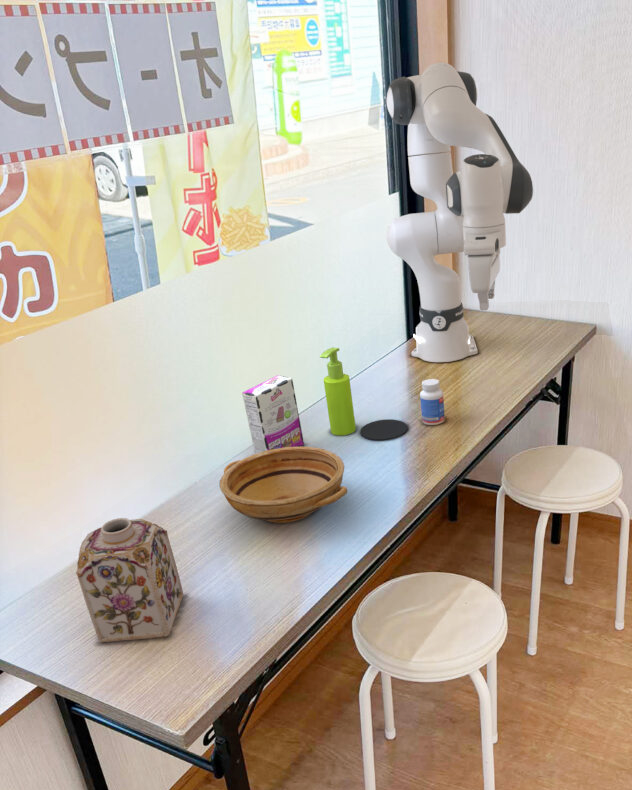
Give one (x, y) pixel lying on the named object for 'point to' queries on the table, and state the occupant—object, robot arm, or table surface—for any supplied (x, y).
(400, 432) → the coaster
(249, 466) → the ceramic bowl
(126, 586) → the decorative jar
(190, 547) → the table surface
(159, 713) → the table surface
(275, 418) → the candy bar box
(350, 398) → the lime green pump bottle
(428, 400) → the pill bottle
